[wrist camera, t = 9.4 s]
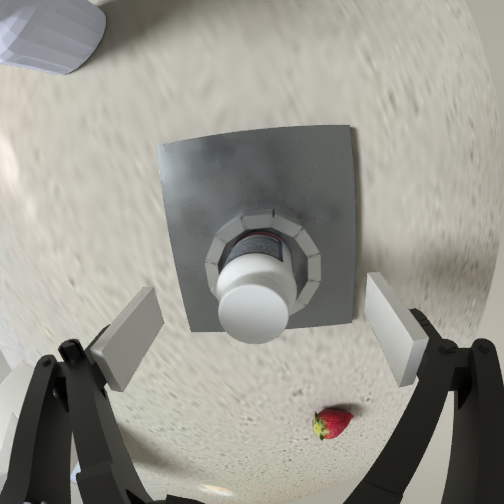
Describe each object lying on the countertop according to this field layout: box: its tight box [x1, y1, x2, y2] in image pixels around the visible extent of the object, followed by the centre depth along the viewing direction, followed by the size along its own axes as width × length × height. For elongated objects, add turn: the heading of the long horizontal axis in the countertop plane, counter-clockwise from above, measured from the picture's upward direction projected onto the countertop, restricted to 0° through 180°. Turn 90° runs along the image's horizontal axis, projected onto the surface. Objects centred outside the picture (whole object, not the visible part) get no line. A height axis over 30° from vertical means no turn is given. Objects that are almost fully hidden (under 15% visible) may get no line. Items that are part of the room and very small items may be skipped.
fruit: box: [312, 409, 353, 440], centre depth 28 cm, size 4×6×5 cm
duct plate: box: [156, 125, 356, 332], centre depth 22 cm, size 18×16×3 cm
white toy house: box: [0, 360, 78, 476], centre depth 27 cm, size 19×15×25 cm
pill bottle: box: [217, 232, 297, 344], centre depth 19 cm, size 5×5×9 cm
